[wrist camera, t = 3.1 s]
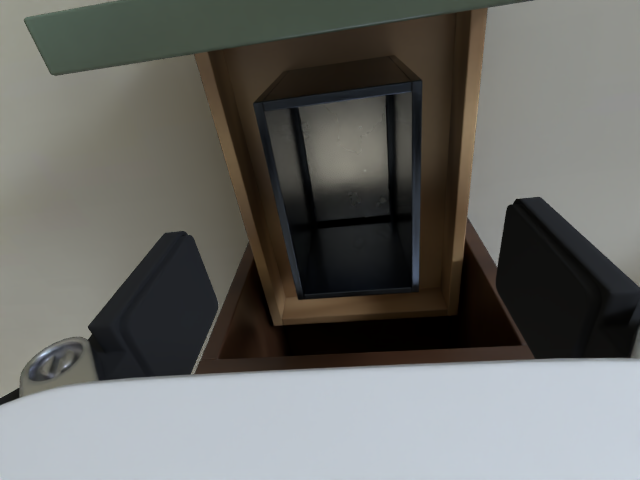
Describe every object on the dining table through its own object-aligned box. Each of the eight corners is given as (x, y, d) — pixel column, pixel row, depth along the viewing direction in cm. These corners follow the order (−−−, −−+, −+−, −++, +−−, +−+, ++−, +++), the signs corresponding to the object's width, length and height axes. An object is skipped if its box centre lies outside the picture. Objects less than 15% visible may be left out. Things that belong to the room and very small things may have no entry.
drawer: (143, -133, 13) (-166, -351, 5) (509, -217, 12) (880, -719, 4) (267, 294, 25) (230, 433, 17) (460, 280, 23) (524, 427, 15)
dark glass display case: (283, 70, 16) (252, 102, 11) (394, 54, 15) (422, 79, 10) (310, 222, 20) (297, 300, 15) (398, 214, 20) (419, 292, 14)
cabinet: (250, 235, 23) (193, 376, 14) (467, 215, 21) (554, 361, 13) (295, 390, 32) (277, 536, 23) (450, 385, 30) (494, 540, 22)
